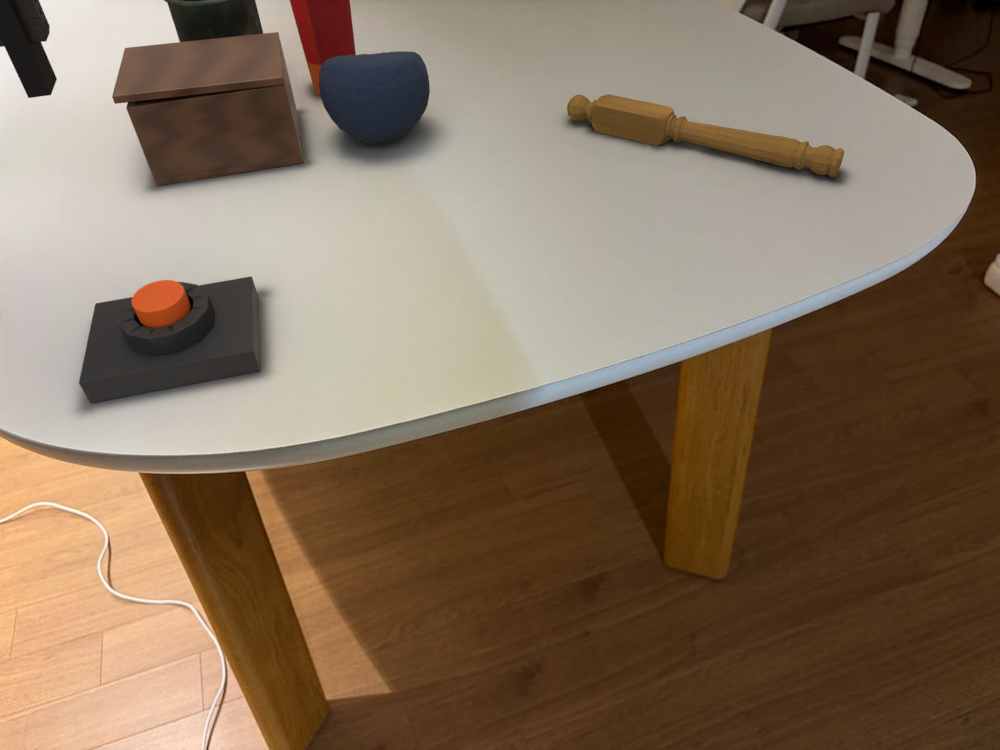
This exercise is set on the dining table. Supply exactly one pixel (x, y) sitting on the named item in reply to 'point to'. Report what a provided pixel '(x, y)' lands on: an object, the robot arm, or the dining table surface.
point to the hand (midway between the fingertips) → (42, 87)
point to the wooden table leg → (698, 133)
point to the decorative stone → (375, 93)
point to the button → (161, 303)
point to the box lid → (199, 67)
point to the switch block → (173, 343)
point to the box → (218, 132)
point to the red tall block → (323, 32)
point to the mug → (214, 18)
